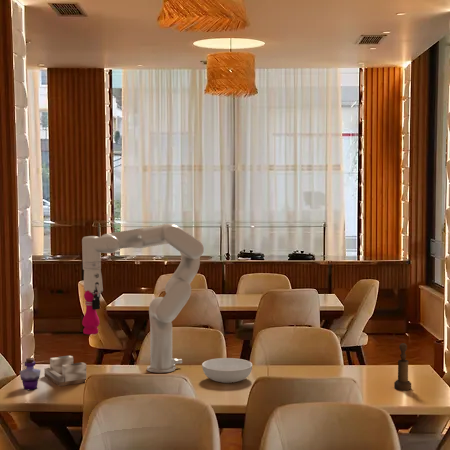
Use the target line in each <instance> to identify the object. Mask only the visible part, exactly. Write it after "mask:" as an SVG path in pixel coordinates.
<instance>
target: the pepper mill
mask: <svg viewBox="0 0 450 450" xmlns="http://www.w3.org/2000/svg"><path fill="white" fill-rule="evenodd" d="M94 292H97V291H94ZM94 295H96V294H94ZM83 297H84V300H85V301H84V304H85V307H86V308H85V313H84V315H83V318H82V321H81V324H82V326H83V327H84V328H83V330H82V331H83V334H85V335H96V334H99V328H98V327H99V325H100V324H101V322H100V317H99V316H98V313H97V309H95V310H93V309H92V300H93V296H92V293H90V292H89V291H88V290H87V291H84V295H83Z"/></svg>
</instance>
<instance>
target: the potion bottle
mask: <svg viewBox="0 0 450 450" xmlns="http://www.w3.org/2000/svg"><path fill="white" fill-rule="evenodd" d="M35 366H36V361H35V359H34V358H33V357H28V358H26V361H24V367H26V369H22V370H19V376H20V380H21V381H22V382H21V383H22V385H23V390H26V391H34V390H37V389H38V384H39V379H40V377H41V369H39V368H38V369H37V368H34V367H35Z"/></svg>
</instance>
